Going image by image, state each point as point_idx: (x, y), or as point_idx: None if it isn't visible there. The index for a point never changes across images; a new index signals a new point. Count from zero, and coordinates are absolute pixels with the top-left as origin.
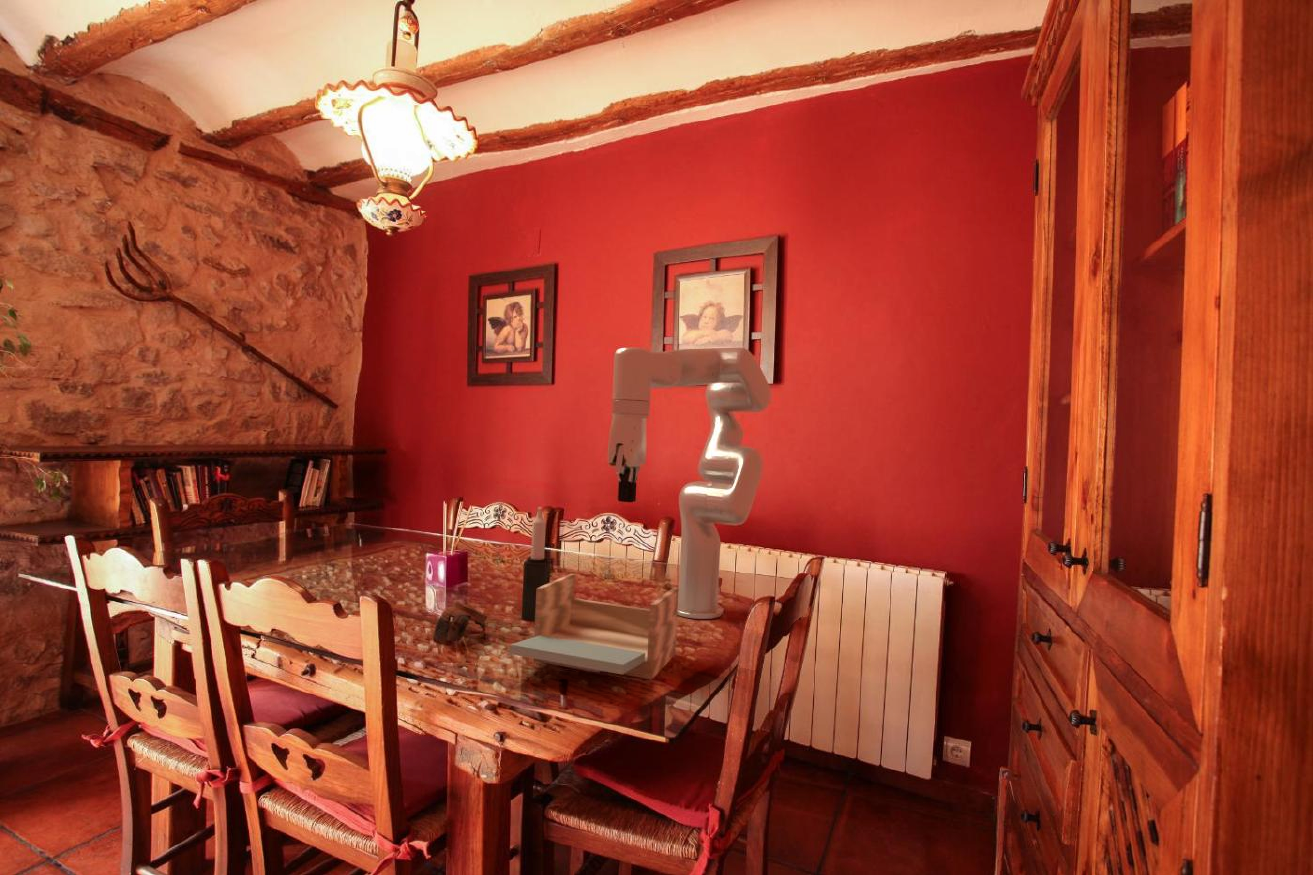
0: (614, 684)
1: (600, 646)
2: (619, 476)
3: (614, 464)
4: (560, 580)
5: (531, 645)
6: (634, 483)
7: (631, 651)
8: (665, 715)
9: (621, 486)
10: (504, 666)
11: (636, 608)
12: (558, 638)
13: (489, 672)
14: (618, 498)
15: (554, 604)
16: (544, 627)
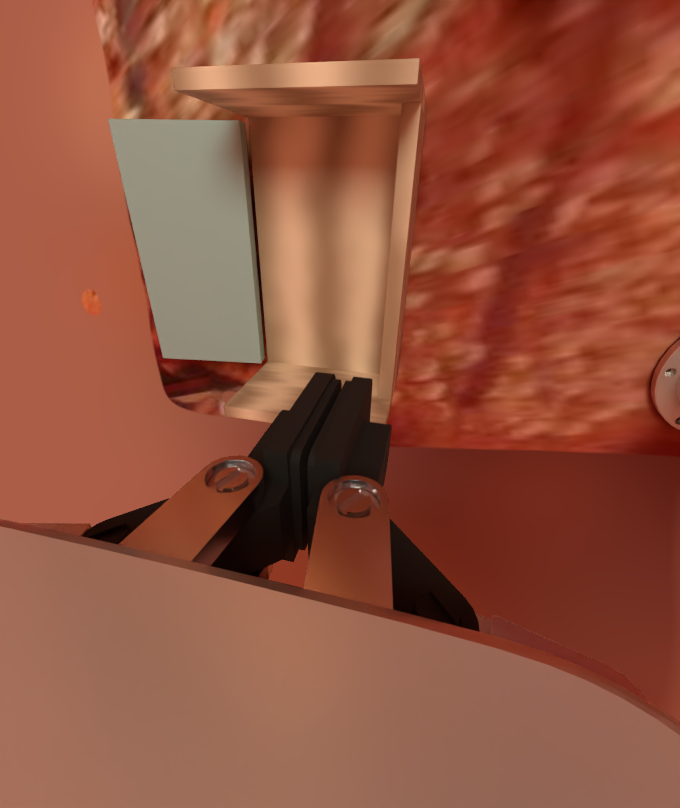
0: None
1: (243, 284)
2: (152, 505)
3: (75, 557)
4: (298, 87)
5: (140, 164)
6: (294, 554)
7: (251, 342)
8: (195, 394)
9: (254, 453)
10: None
11: (389, 321)
12: (240, 177)
13: (159, 61)
14: (312, 379)
15: (289, 102)
16: (259, 112)
